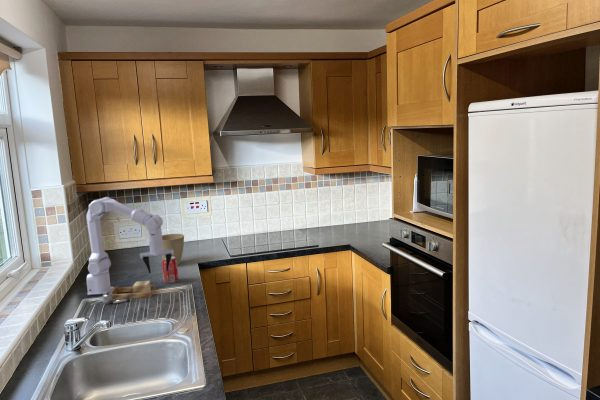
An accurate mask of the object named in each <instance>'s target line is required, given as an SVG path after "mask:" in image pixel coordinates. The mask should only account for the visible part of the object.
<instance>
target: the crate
mask: <svg viewBox="0 0 600 400" xmlns="http://www.w3.org/2000/svg"><path fill="white" fill-rule="evenodd" d="M150 281H151V280H141V281H140V280H139V281H135V283H134V284H133V285H132V287H133V292H132V293H143V292H151V293H152V290H151V288H150V286H151V282H150Z"/></svg>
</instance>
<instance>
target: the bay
mask: <svg viewBox="0 0 600 400" xmlns="http://www.w3.org/2000/svg"><path fill="white" fill-rule="evenodd" d="M113 287H114V288H113V289H112V290H111V291H110V292H109V293H113V301H116V300H122V299H126V296H127V295H129V297H130V299H141V298H152V291H156V290H157V285H155V284H153V285H151V284H150V288H151V292H143V293H134V292H133V286H122V287H121V286H120V287H119V285H115V286H113Z"/></svg>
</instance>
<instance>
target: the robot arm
mask: <svg viewBox="0 0 600 400" xmlns="http://www.w3.org/2000/svg"><path fill="white" fill-rule="evenodd" d="M109 212H116V213H119V214H122V215H124V216H128V217H130V218H131V221H132V222H135V223H137V224H140V225H142V226H144V227H145V228H146V229H147V233H148V240H149V241H148V243H149V251H146V252H141V253H139V258H140V259H142V261H143V263H144V264H145V266H146V268H147V270H148V274H151V265H150V258H152V257H154V258H155V257H161V256H163V255H166V270H167V271H168V267H169V262H170V260H171V255H174V251H173V250H163V241H162V235H163V232H162V226H163V224H164V221H163V218H162V217H161V216H160V215H159V214H155V215H153V213H149V212H146V211H144V209H143V208H139V209H138V208H136V209H133V208H131V207H129V206H127V205H124V204H123V203H121V202H119V201H117V200H116V199H113V198H111V197H109V196H105V197H102V198H99V199H94V200H93V201H91V202H90V203H89V204H88V210H87V212H86V215H85V216H86V224H87V230H88V238H89V244H90V251H91V255H90V256H89V258H88V266H87V270H88V272H89V273H88V274H87V275H86V287H87V288H86V289H87V296H91V295H103V294H105V293H106V292H107V291H109V293H110V292H111V290H112V289H113V288H114V287H115V286H111V281H110V269H109V268H110V267H111V265H112V262H111V260H110V258H109V254H108V253H107V252H106V251H105V246H104V239H103V233H102V225H101V218H102V217H103V216H105V215H104V214H105V213H109Z"/></svg>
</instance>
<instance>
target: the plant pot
mask: <svg viewBox="0 0 600 400" xmlns="http://www.w3.org/2000/svg"><path fill="white" fill-rule="evenodd" d="M162 241H163V250H173V251H174V255H171V256H174V257H175V259H176V260H177V266H179V265H180V263H181V260H182V256H183V251H184V247H185V246H184V244H185V234H183V233H168V234H162ZM160 257H161V259H162V260H163V258H164V257H166V255H163V256H160Z"/></svg>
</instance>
